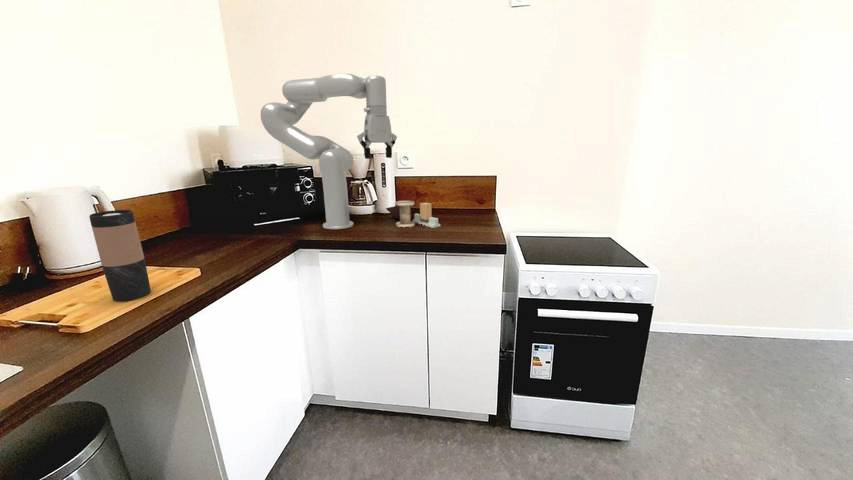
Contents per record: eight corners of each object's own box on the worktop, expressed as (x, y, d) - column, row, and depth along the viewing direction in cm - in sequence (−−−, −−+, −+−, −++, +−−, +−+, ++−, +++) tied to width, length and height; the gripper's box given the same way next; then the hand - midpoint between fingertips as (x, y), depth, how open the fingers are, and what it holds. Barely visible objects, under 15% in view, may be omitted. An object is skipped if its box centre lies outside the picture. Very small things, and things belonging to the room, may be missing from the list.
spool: (392, 225, 151) (391, 202, 149) (407, 222, 156) (406, 199, 153) (403, 228, 145) (402, 204, 143) (418, 225, 150) (418, 202, 148)
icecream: (379, 204, 163) (403, 211, 155) (390, 198, 168) (414, 204, 159) (381, 218, 167) (405, 225, 158) (392, 211, 172) (416, 218, 163)
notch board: (412, 222, 157) (412, 214, 156) (419, 220, 159) (419, 213, 158) (433, 227, 146) (433, 219, 145) (440, 226, 149) (440, 218, 148)
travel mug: (159, 288, 89) (141, 209, 83) (136, 302, 81) (115, 216, 76) (128, 289, 88) (107, 209, 83) (102, 302, 81) (78, 216, 76)
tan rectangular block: (420, 221, 153) (419, 203, 151) (425, 220, 155) (425, 202, 153) (426, 223, 150) (426, 204, 148) (431, 222, 152) (431, 203, 150)
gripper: (361, 110, 126) (364, 159, 131) (401, 112, 137) (402, 157, 142) (351, 111, 132) (354, 158, 137) (390, 113, 143) (391, 157, 147)
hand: (378, 158), depth 139 cm, fingers open, 9 cm apart
